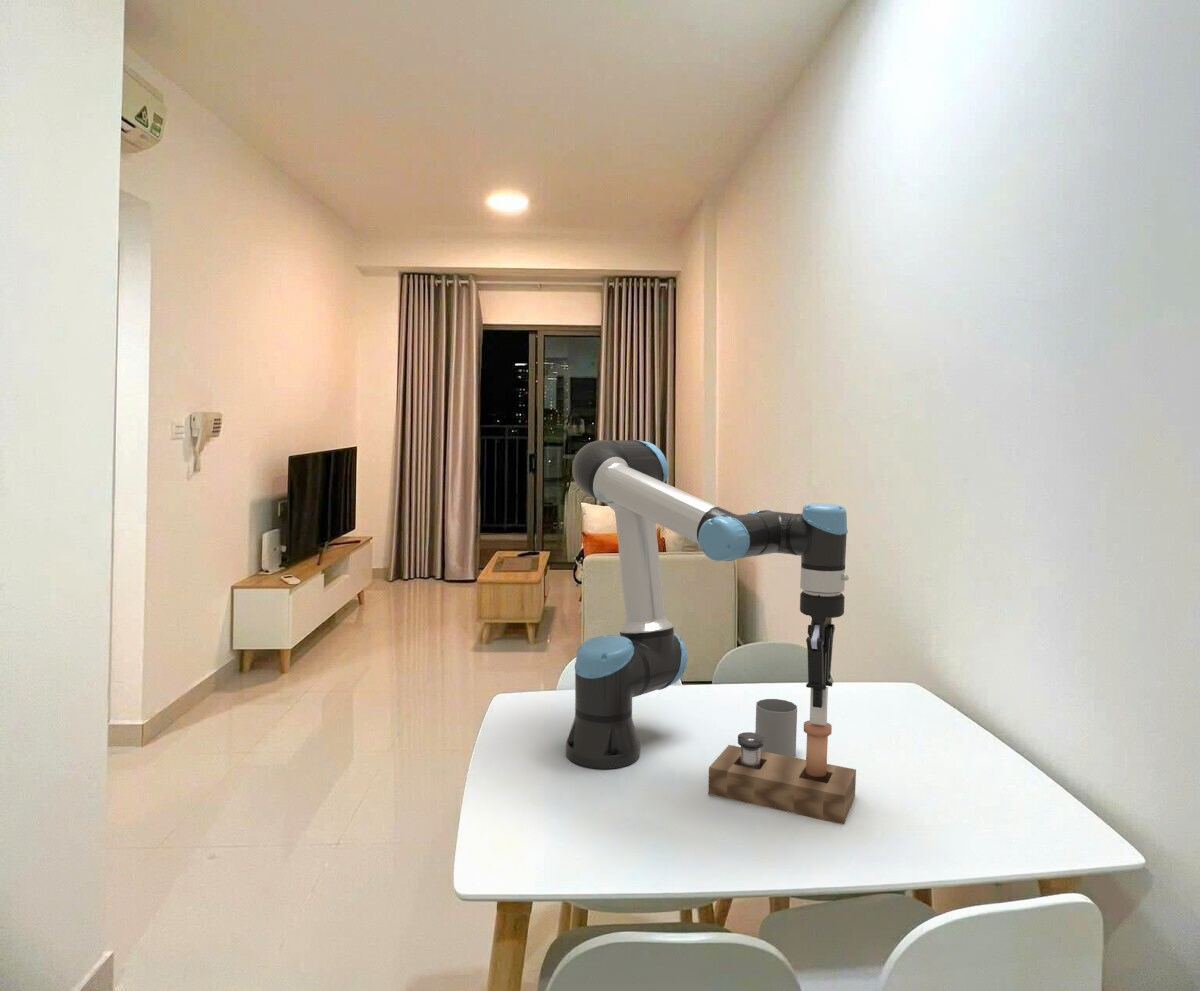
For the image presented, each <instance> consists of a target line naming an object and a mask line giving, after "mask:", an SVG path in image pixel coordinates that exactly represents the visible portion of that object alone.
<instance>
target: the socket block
mask: <svg viewBox="0 0 1200 991" xmlns="http://www.w3.org/2000/svg"><path fill="white" fill-rule="evenodd" d="M740 760H741V746H736V745H732V744H728V745H727V746H726V747H725V749H723V751H722V752H721V753H720V754H719V756H718V757H716V758H715V759H714V761H713V762H712V763H711V764H710V766H709V767H708V786H707V788H708V791H707V792H708V795H712V796H715V797H716V796H717V797H720V798H724V799H727V800H728V799H730V800H733V801H738V802H743V803H746V804H752V805H756V806H760V807H765V808H771V809H774V810H778V811H783V812H787V813H790V814H795V815H796V814H797V815H801V816H804V817H809V818H813V819H817V820H818V819H819V820H822V821H827V822H832V823H836V824H841V825H844V824H845V823H846V819H847V817H848V814H849V813H850V809H851V807H852V805H853V803H854V799H855V797H856V781H857V778H856V777H857V769H856V768H851V767H846V766H845V767H844V766H840V765H835V764H830V763H827V774H826V775H825V776H822V777H816V776H811V775H809V774H807V773H806V759H803V758H800V757H789V756H784V755H779V754H773V753H768V752H763V751H761V752H760V770H759V769H754V768H749V767H745V766H740Z"/></svg>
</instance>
